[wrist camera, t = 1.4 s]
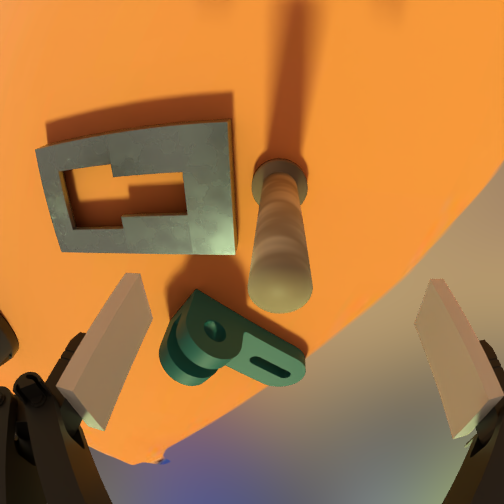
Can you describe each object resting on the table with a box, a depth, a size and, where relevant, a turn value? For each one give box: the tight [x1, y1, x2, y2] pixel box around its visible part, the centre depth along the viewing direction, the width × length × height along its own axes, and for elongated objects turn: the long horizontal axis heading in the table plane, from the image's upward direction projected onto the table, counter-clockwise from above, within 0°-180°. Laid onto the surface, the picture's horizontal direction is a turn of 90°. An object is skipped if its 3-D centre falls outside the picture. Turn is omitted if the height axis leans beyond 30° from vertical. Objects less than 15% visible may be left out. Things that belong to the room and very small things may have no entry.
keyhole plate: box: [35, 119, 238, 255], centre depth 27 cm, size 20×12×2 cm, turn 92°
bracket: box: [159, 289, 306, 387], centre depth 35 cm, size 18×7×8 cm, turn 54°
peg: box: [248, 159, 313, 313], centre depth 21 cm, size 5×5×15 cm
